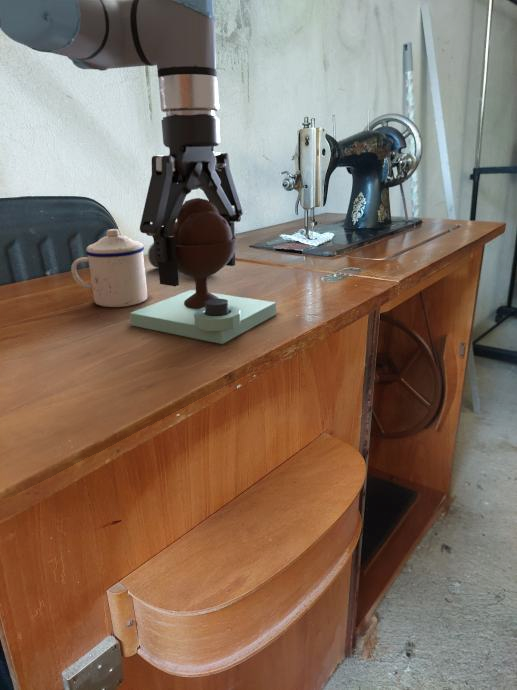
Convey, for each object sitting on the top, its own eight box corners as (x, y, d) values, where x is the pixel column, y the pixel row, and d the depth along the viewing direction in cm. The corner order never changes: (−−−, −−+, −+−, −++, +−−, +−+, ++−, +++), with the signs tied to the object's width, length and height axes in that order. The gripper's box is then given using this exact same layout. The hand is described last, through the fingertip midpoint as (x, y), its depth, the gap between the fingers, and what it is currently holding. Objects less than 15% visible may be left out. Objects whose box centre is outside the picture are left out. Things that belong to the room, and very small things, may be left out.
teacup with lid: (153, 292, 91) (146, 224, 86) (143, 307, 82) (135, 233, 78) (84, 294, 90) (74, 226, 86) (68, 309, 82) (55, 235, 78)
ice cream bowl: (151, 303, 77) (141, 200, 72) (212, 289, 84) (207, 194, 78) (190, 319, 70) (181, 205, 64) (254, 303, 76) (251, 198, 71)
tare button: (201, 316, 67) (200, 303, 66) (214, 309, 69) (214, 297, 69) (220, 319, 66) (219, 306, 65) (233, 313, 68) (232, 300, 67)
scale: (126, 327, 73) (123, 303, 72) (191, 300, 85) (190, 280, 84) (224, 348, 65) (222, 321, 64) (281, 315, 77) (281, 292, 75)
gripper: (221, 118, 79) (227, 256, 87) (96, 112, 59) (118, 291, 67) (263, 116, 76) (266, 260, 83) (145, 109, 56) (162, 298, 63)
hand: (200, 274), depth 75 cm, fingers open, 13 cm apart
